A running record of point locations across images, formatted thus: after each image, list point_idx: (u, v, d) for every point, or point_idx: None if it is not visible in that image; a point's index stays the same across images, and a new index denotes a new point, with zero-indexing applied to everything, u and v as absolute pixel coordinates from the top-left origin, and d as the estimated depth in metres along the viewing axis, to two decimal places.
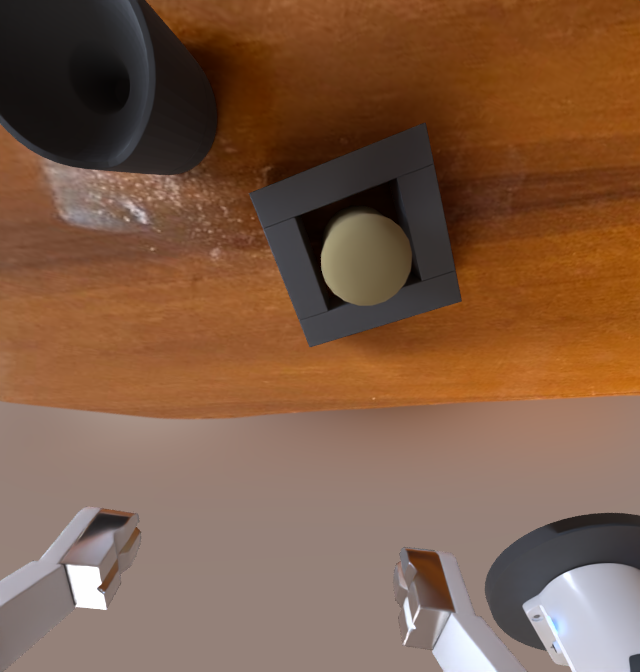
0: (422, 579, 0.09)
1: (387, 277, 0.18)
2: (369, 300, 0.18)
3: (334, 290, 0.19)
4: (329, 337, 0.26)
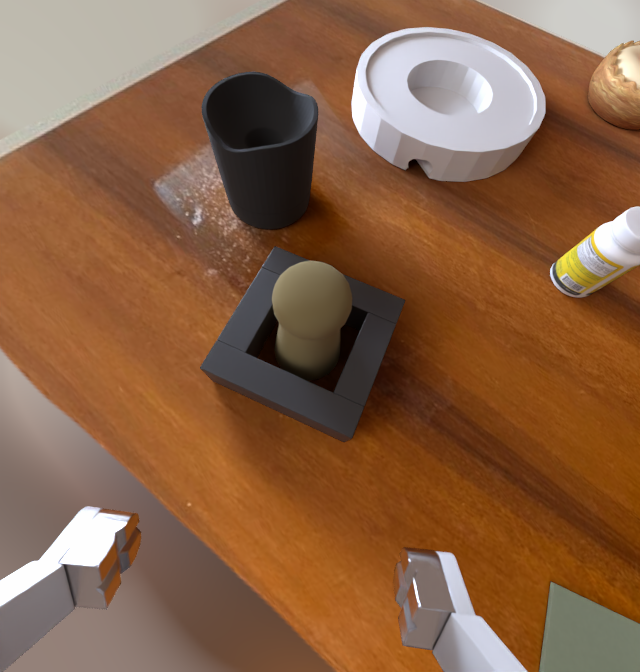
0: (423, 579, 0.09)
1: (319, 304, 0.19)
2: (292, 312, 0.19)
3: (275, 289, 0.20)
4: (223, 373, 0.24)
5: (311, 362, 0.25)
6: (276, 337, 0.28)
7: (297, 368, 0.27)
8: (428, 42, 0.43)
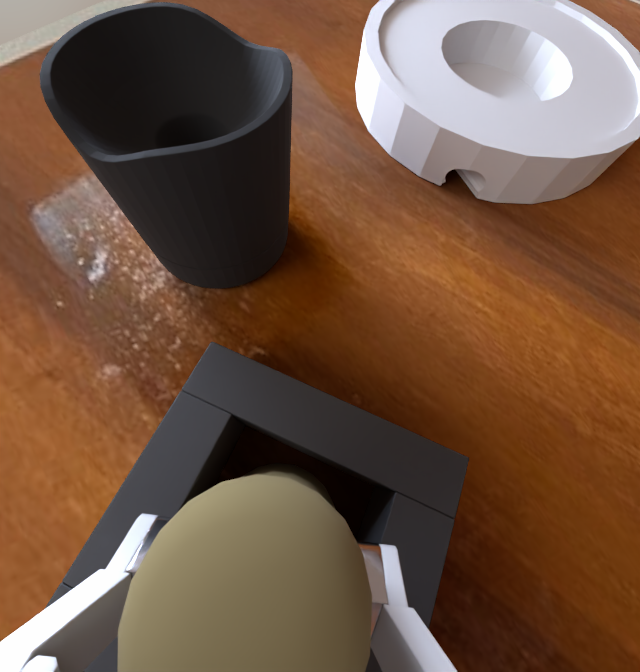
0: None
1: None
2: None
3: (122, 618, 0.06)
4: None
5: None
6: None
7: None
8: None
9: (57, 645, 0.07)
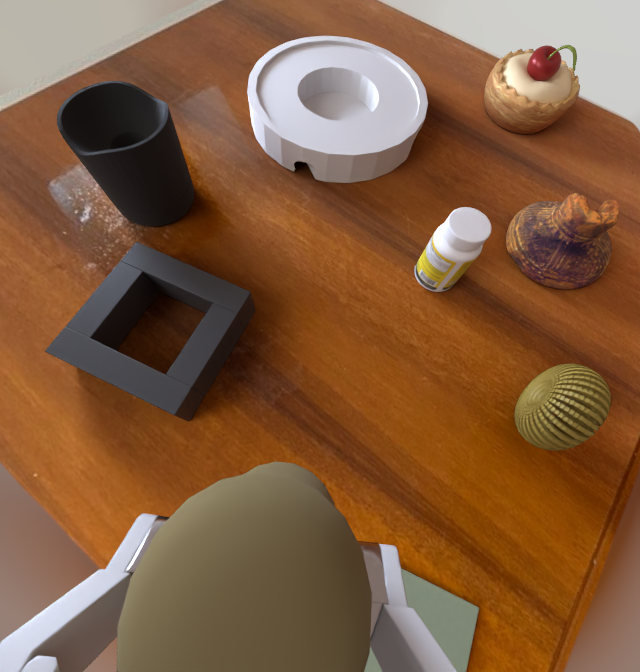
0: None
1: None
2: None
3: (122, 615, 0.06)
4: (65, 356, 0.27)
5: None
6: None
7: None
8: (326, 50, 0.45)
9: (57, 645, 0.07)
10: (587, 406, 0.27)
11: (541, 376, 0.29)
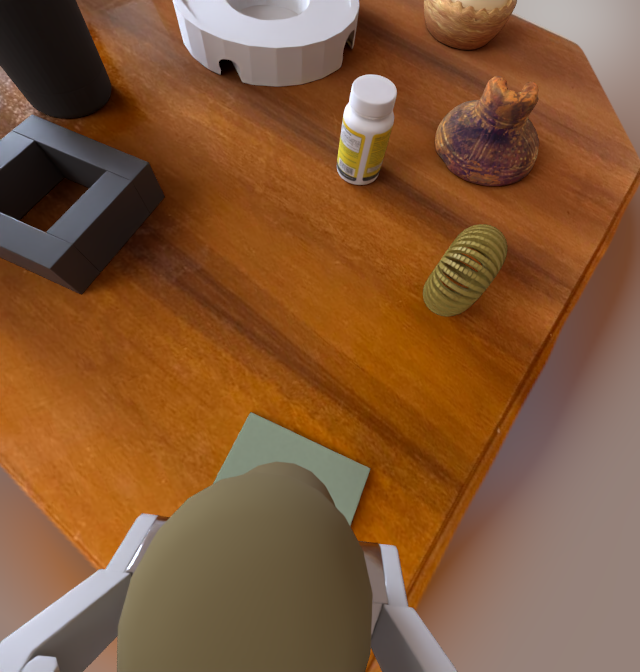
0: None
1: None
2: None
3: (122, 615, 0.06)
4: None
5: None
6: None
7: None
8: None
9: (57, 645, 0.07)
10: None
11: (449, 247, 0.28)
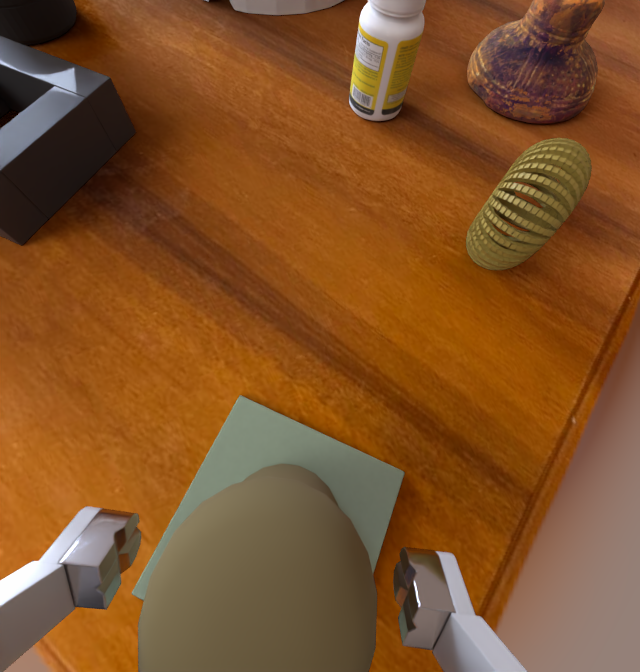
0: (422, 579, 0.09)
1: None
2: None
3: (143, 613, 0.07)
4: None
5: None
6: None
7: None
8: None
9: None
10: (560, 201, 0.20)
11: (500, 181, 0.22)
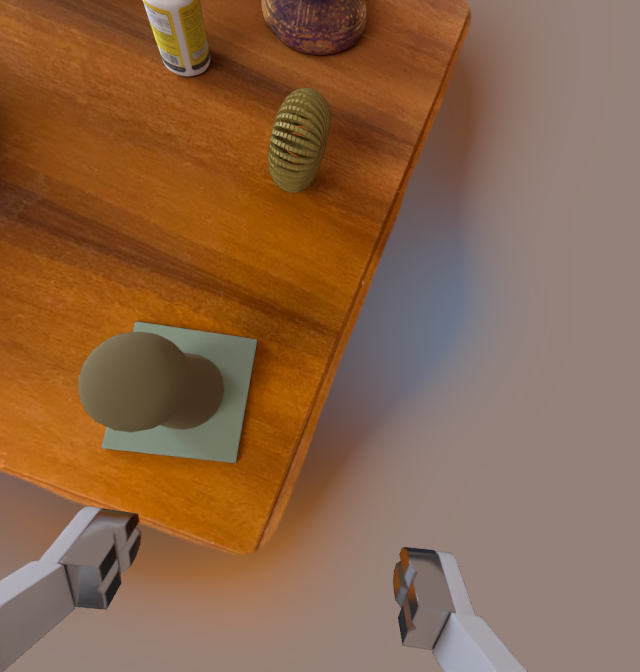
0: (422, 579, 0.09)
1: (137, 399, 0.15)
2: (106, 418, 0.15)
3: None
4: None
5: (181, 422, 0.22)
6: None
7: (172, 427, 0.23)
8: None
9: None
10: None
11: None
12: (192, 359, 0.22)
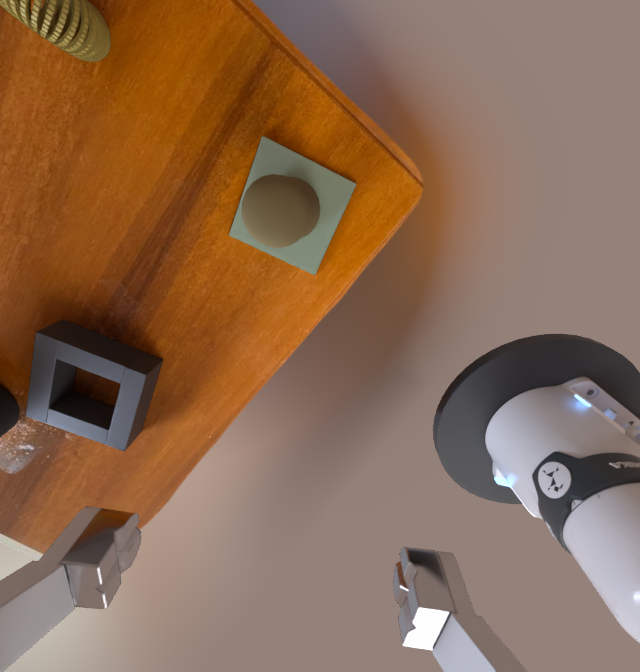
0: (422, 579, 0.09)
1: (288, 207, 0.23)
2: (295, 230, 0.24)
3: (273, 245, 0.25)
4: (124, 440, 0.41)
5: (313, 208, 0.30)
6: None
7: (314, 220, 0.31)
8: None
9: None
10: None
11: None
12: None
